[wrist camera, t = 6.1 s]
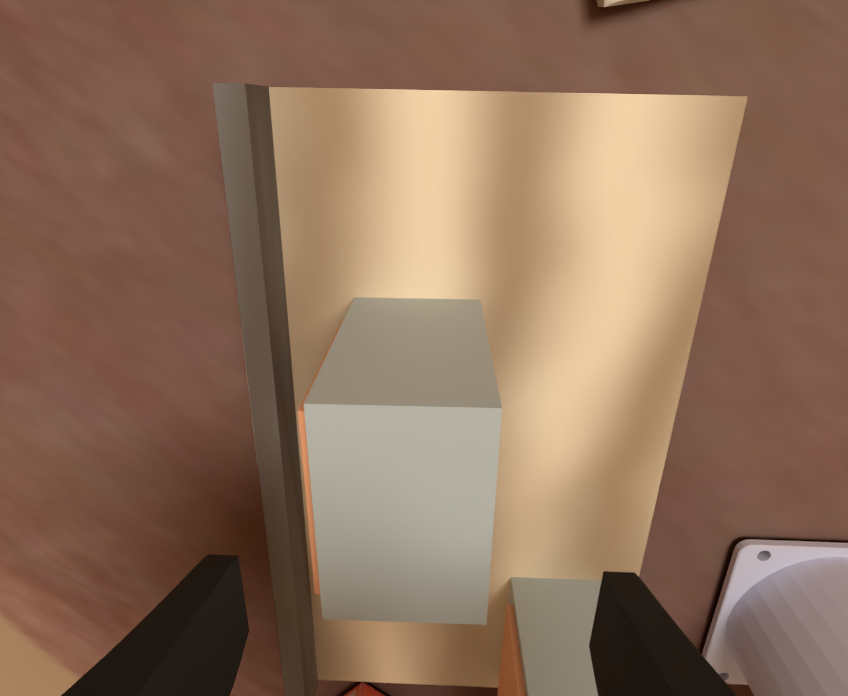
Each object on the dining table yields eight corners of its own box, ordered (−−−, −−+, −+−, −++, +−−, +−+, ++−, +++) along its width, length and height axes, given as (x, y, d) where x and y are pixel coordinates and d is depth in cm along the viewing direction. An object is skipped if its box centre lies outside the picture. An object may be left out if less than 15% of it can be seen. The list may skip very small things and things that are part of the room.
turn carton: (480, 299, 18) (501, 408, 11) (472, 459, 20) (486, 624, 13) (346, 297, 18) (291, 403, 11) (354, 455, 20) (312, 619, 14)
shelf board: (727, 97, 16) (790, 93, 13) (605, 667, 26) (626, 739, 23) (248, 88, 16) (205, 82, 13) (302, 654, 26) (284, 724, 23)
